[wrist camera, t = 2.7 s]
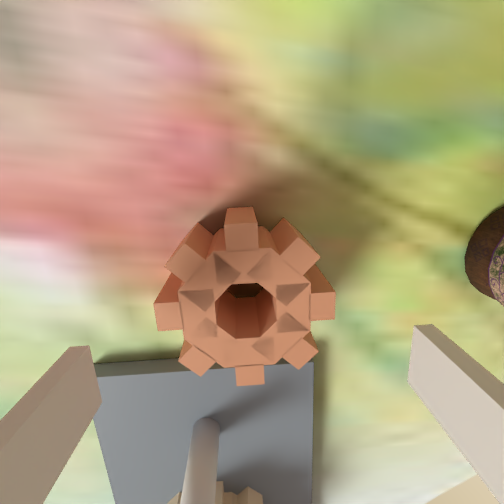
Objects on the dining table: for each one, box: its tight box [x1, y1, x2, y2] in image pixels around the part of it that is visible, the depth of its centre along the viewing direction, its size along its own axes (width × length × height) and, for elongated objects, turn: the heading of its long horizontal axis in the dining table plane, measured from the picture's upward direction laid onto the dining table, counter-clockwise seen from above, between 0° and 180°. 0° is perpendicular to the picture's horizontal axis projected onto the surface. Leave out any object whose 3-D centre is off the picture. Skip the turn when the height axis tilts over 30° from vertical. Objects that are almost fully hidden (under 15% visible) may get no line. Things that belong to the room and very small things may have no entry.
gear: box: [154, 207, 336, 386], centre depth 18 cm, size 9×9×5 cm
